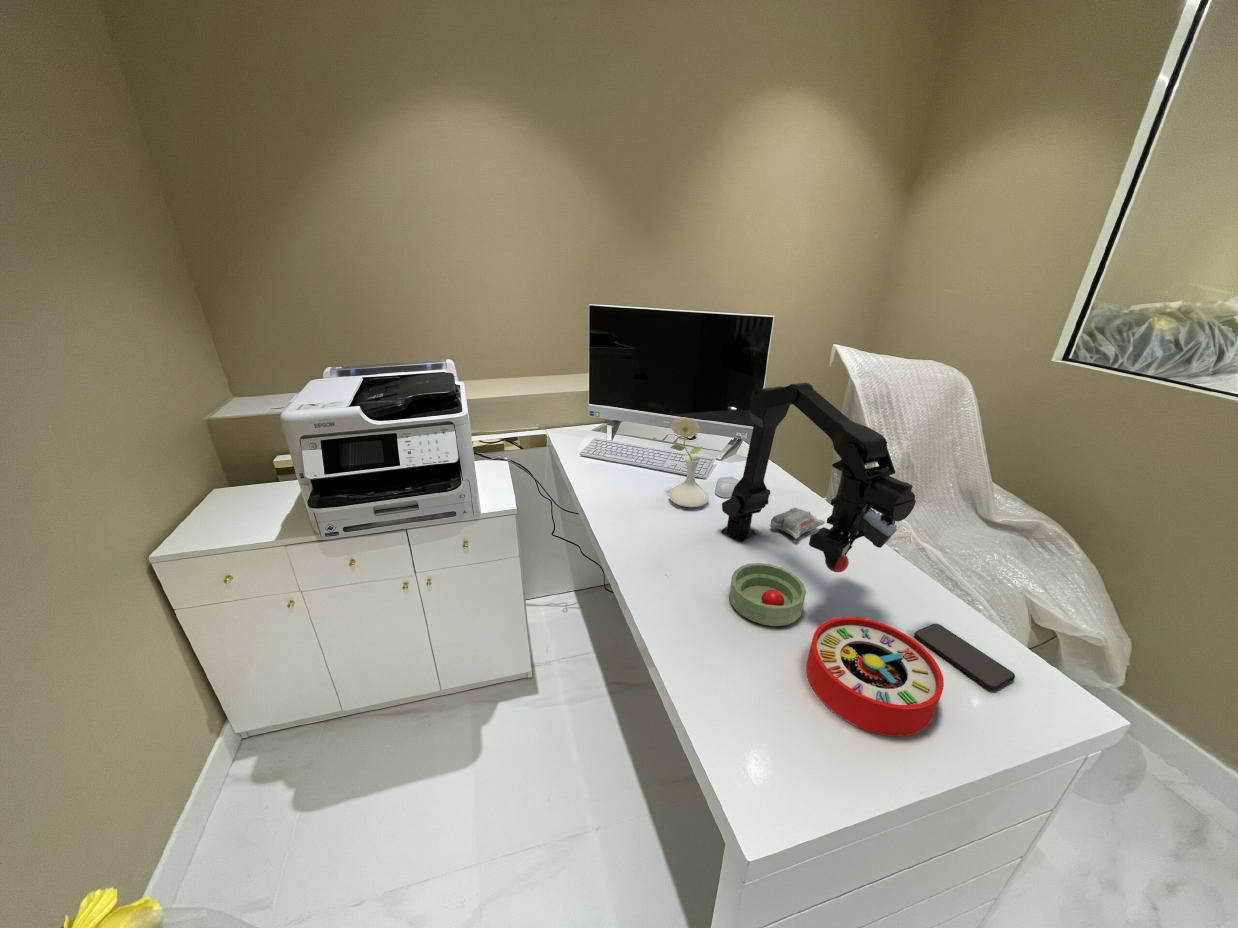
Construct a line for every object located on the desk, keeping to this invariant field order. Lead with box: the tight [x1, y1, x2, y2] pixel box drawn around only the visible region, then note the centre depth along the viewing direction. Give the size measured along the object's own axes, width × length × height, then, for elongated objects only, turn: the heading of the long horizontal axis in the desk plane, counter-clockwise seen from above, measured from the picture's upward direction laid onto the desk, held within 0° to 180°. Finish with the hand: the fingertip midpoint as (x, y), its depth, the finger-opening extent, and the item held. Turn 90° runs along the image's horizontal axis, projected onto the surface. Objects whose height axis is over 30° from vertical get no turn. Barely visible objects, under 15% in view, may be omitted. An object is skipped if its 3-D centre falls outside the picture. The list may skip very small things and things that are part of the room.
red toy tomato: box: [824, 554, 850, 573], centre depth 102 cm, size 4×4×5 cm
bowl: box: [728, 562, 807, 627], centre depth 104 cm, size 15×15×5 cm
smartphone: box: [913, 623, 1016, 691], centre depth 92 cm, size 7×1×15 cm
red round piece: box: [761, 589, 784, 606], centre depth 101 cm, size 4×4×5 cm
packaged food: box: [769, 507, 826, 540], centre depth 131 cm, size 9×12×5 cm
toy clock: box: [805, 616, 945, 737], centre depth 85 cm, size 20×6×20 cm
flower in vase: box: [668, 416, 710, 508], centre depth 140 cm, size 13×11×25 cm
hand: (835, 563), depth 102 cm, fingers closed on red toy tomato, 4 cm apart
